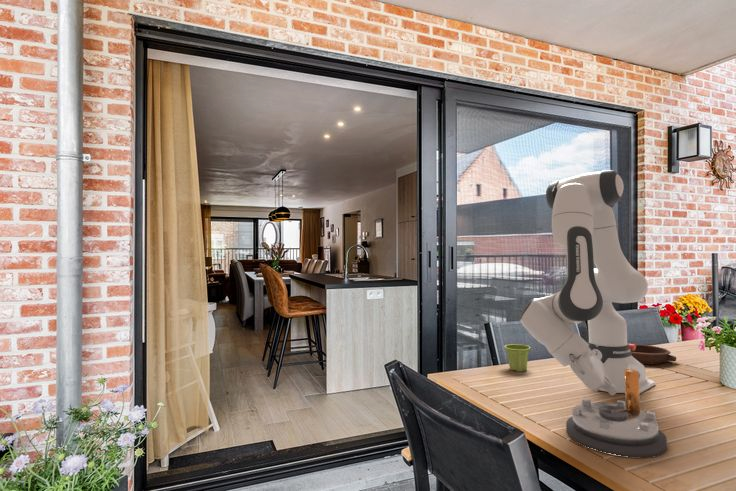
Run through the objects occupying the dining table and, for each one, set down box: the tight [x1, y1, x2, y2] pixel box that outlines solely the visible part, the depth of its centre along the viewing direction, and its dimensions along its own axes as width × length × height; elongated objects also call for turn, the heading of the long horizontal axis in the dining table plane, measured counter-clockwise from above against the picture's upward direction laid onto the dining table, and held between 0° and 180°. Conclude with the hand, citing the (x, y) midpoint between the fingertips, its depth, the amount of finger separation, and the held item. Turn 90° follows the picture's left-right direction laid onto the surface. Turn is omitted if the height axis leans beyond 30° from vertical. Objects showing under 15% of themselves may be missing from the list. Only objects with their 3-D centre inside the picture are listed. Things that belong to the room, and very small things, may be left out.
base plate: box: [565, 415, 668, 458], centre depth 102 cm, size 21×21×2 cm
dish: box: [631, 344, 677, 365], centre depth 168 cm, size 18×22×5 cm
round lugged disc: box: [571, 369, 659, 445], centre depth 102 cm, size 18×18×13 cm
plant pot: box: [504, 343, 531, 372], centre depth 161 cm, size 9×9×9 cm
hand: (614, 392), depth 108 cm, fingers closed
